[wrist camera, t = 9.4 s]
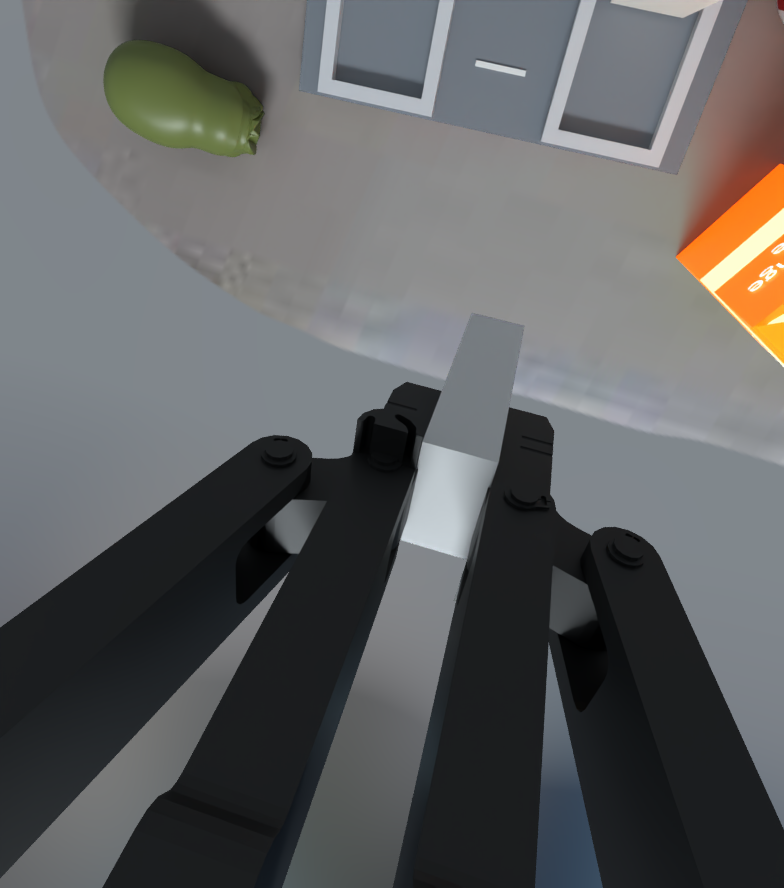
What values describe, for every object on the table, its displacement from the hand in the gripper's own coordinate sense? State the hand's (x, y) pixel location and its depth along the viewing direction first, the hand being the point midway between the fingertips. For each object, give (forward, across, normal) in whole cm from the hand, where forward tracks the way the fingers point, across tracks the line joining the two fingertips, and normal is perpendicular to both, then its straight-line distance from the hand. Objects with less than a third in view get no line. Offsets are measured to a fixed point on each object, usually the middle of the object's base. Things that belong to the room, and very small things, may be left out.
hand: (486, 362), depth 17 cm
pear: (+26, -23, 0) cm, 35 cm away
